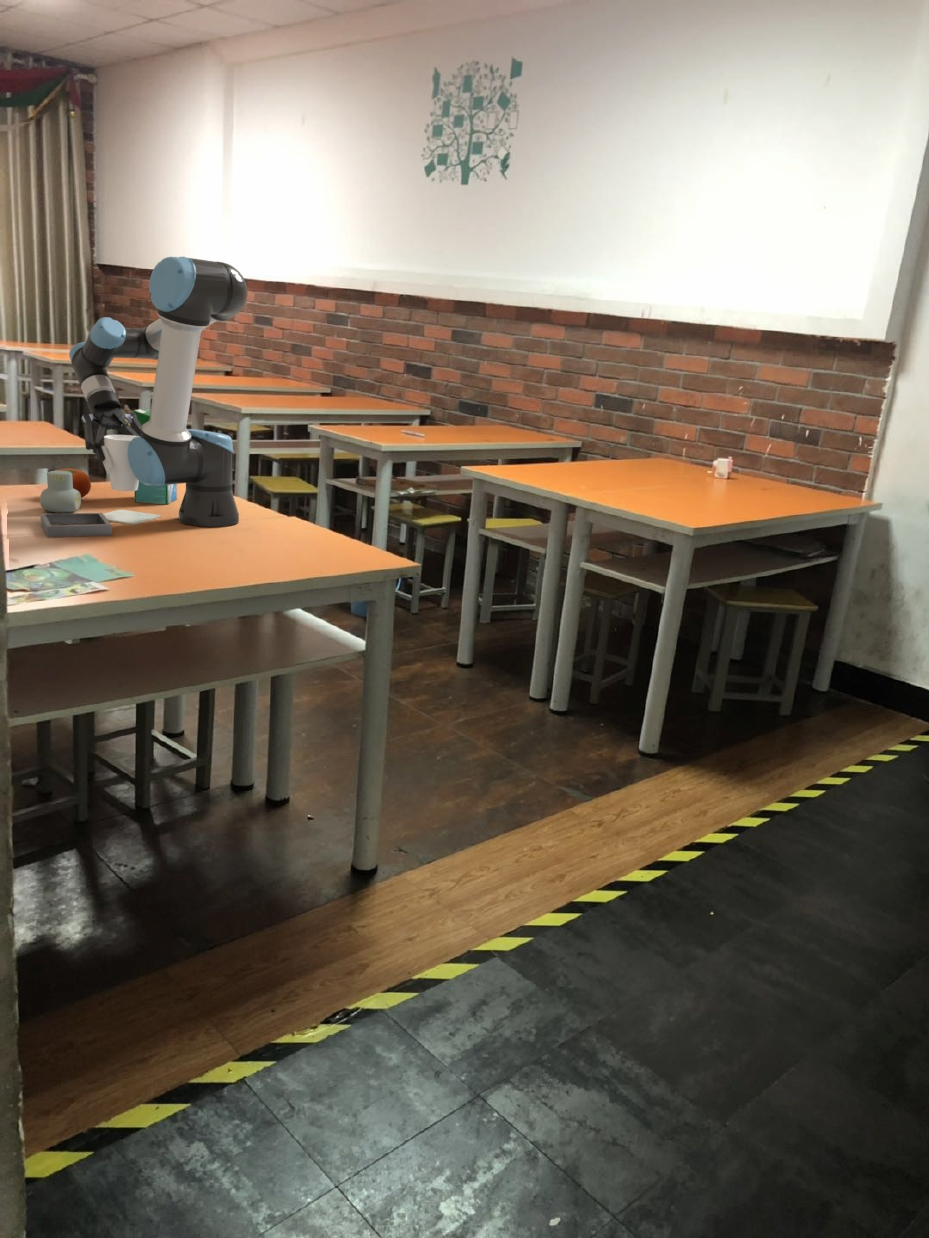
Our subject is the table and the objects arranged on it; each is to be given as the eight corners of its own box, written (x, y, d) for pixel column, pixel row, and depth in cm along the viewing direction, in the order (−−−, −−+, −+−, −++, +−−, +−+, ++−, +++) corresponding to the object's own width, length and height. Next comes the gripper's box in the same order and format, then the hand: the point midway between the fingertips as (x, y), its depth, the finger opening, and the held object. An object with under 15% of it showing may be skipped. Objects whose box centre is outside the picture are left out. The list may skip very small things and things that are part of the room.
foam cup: (104, 485, 246) (102, 434, 242) (141, 485, 249) (141, 435, 246) (106, 492, 238) (105, 439, 234) (145, 492, 241) (145, 441, 237)
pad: (160, 517, 249) (160, 515, 249) (133, 524, 238) (133, 523, 238) (120, 510, 252) (120, 509, 252) (91, 518, 241) (91, 516, 241)
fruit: (56, 494, 265) (55, 465, 263) (95, 496, 267) (94, 468, 264) (44, 501, 255) (43, 471, 253) (85, 504, 257) (84, 474, 254)
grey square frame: (102, 522, 238) (102, 512, 237) (111, 535, 226) (111, 525, 225) (40, 524, 231) (40, 513, 230) (47, 537, 219) (47, 526, 218)
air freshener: (73, 516, 242) (71, 477, 239) (38, 514, 240) (36, 475, 237) (83, 508, 252) (81, 470, 249) (49, 506, 250) (48, 468, 248)
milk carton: (167, 504, 264) (166, 413, 257) (134, 502, 264) (132, 410, 257) (177, 499, 273) (176, 410, 266) (145, 496, 273) (144, 407, 265)
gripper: (137, 407, 256) (166, 476, 250) (54, 406, 241) (82, 480, 235) (146, 389, 251) (176, 459, 245) (61, 387, 236) (90, 462, 230)
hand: (130, 470), depth 240 cm, fingers closed on foam cup, 9 cm apart
